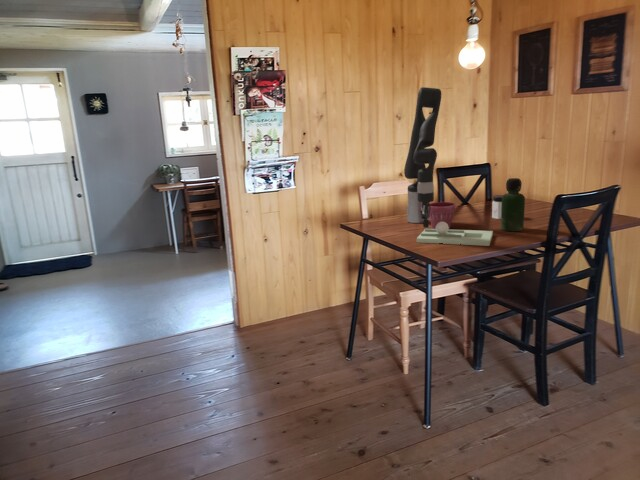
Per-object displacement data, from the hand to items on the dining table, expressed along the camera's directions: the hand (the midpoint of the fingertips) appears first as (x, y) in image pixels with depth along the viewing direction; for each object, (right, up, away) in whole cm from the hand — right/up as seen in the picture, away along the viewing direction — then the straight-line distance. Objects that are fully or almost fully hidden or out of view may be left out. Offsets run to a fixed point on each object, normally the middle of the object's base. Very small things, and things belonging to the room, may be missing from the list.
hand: (425, 227), depth 226 cm
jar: (+49, +6, +34) cm, 60 cm away
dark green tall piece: (+44, -1, +7) cm, 44 cm away
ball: (+7, 0, -3) cm, 8 cm away
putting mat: (+13, -5, -4) cm, 15 cm away
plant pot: (+12, 0, +18) cm, 21 cm away
